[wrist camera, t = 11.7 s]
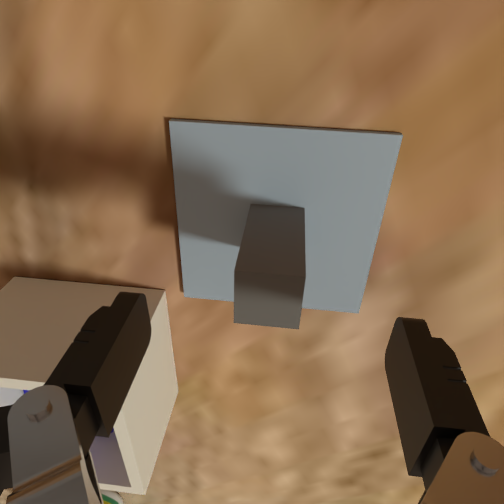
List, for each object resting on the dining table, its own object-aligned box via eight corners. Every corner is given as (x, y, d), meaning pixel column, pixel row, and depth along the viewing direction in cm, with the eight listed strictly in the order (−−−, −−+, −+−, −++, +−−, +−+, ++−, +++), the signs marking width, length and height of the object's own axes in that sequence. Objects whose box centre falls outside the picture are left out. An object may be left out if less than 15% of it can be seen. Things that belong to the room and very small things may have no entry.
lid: (173, 116, 17) (119, 166, 12) (398, 129, 17) (444, 188, 11) (187, 288, 23) (154, 373, 18) (356, 303, 22) (374, 397, 17)
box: (14, 276, 23) (-82, 368, 17) (165, 290, 22) (117, 390, 17) (54, 377, 28) (-10, 474, 23) (178, 391, 28) (145, 495, 22)
